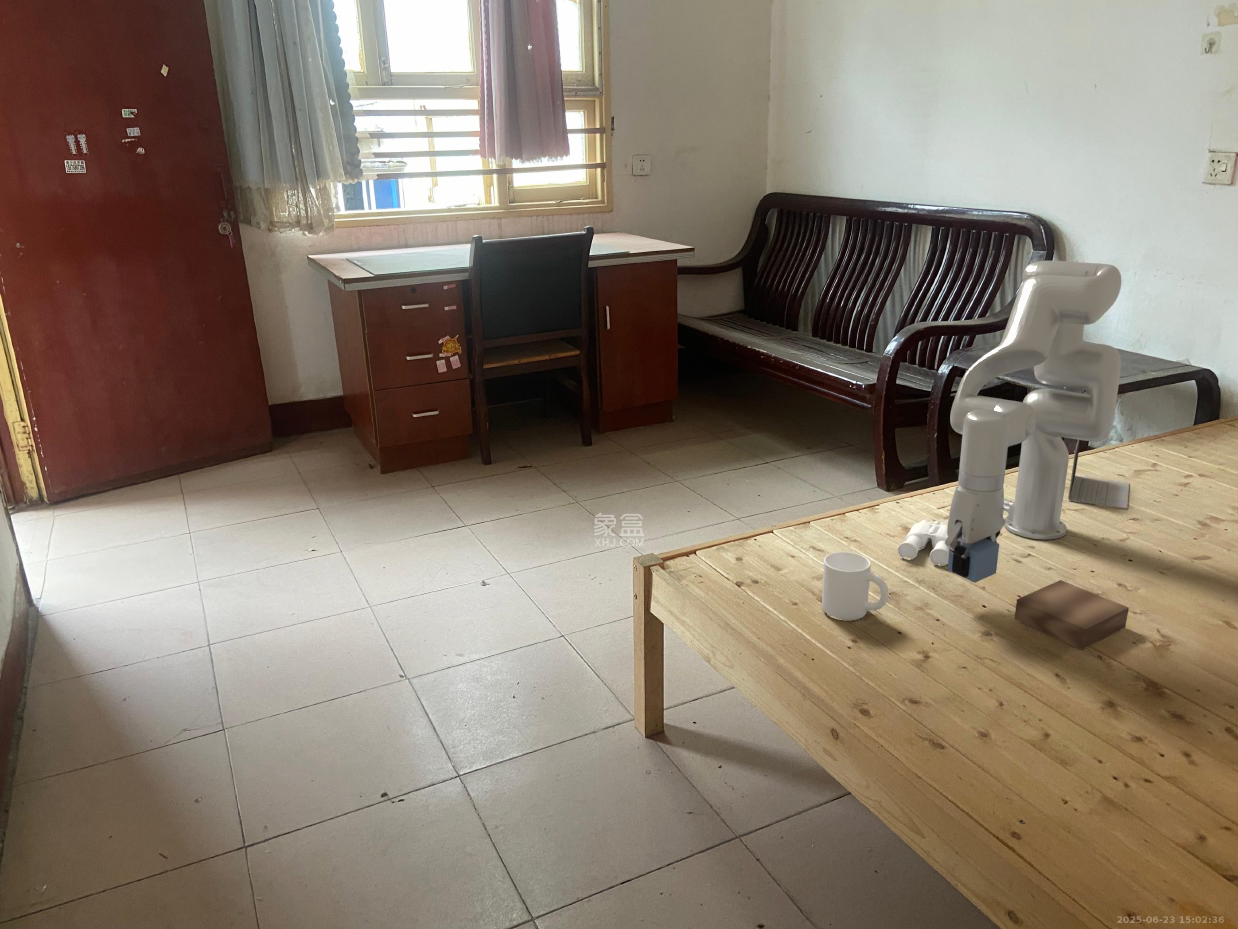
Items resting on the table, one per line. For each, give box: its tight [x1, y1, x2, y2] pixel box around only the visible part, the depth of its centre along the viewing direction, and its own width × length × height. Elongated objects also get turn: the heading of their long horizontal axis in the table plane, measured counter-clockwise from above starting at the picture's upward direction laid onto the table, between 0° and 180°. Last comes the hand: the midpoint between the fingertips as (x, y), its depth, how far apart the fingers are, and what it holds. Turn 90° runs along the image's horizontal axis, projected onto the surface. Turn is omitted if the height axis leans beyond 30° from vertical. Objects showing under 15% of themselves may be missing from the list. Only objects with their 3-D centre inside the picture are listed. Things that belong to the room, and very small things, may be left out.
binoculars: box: [897, 519, 949, 567], centre depth 192 cm, size 10×16×5 cm, turn 151°
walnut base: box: [1013, 579, 1130, 651], centre depth 162 cm, size 13×13×4 cm
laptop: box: [1067, 439, 1130, 510], centre depth 217 cm, size 18×12×13 cm
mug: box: [821, 551, 889, 621], centre depth 166 cm, size 12×8×10 cm
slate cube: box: [947, 535, 1000, 584], centre depth 166 cm, size 6×6×6 cm
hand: (972, 568), depth 167 cm, fingers closed on slate cube, 6 cm apart
